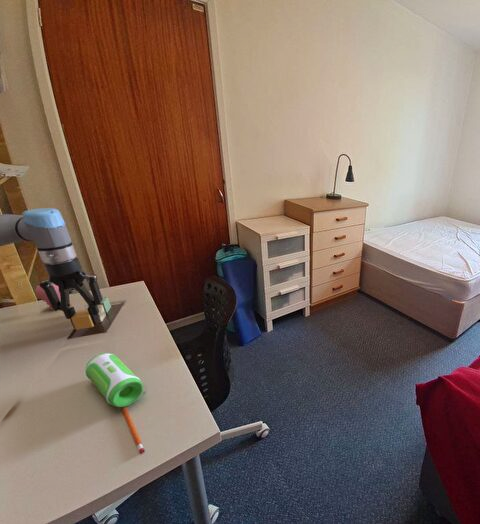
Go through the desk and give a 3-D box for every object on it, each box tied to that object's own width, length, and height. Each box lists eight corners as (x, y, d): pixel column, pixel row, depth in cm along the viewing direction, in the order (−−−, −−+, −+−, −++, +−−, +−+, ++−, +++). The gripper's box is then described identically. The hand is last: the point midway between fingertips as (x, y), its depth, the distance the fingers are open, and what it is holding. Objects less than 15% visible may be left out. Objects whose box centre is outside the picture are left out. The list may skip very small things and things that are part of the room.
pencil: (140, 454, 59) (139, 452, 59) (118, 402, 70) (117, 400, 70) (145, 451, 60) (144, 449, 59) (123, 400, 71) (121, 398, 71)
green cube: (91, 315, 102) (87, 304, 101) (96, 309, 106) (92, 298, 104) (107, 313, 104) (103, 302, 102) (111, 306, 108) (107, 296, 106)
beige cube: (90, 317, 101) (86, 306, 99) (106, 315, 103) (102, 304, 101) (85, 324, 97) (81, 313, 95) (101, 321, 99) (97, 311, 97)
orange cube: (81, 322, 95) (77, 311, 93) (98, 319, 97) (93, 308, 95) (75, 330, 91) (70, 318, 90) (93, 327, 93) (88, 315, 91)
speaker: (88, 382, 76) (78, 361, 73) (120, 366, 81) (112, 345, 78) (114, 416, 67) (105, 393, 64) (148, 395, 72) (141, 373, 69)
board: (61, 342, 90) (59, 340, 89) (87, 310, 107) (86, 308, 106) (107, 334, 94) (106, 332, 94) (125, 305, 111) (124, 303, 111)
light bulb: (43, 310, 106) (30, 282, 101) (69, 303, 111) (58, 276, 106) (45, 317, 102) (32, 288, 97) (72, 309, 107) (60, 281, 102)
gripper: (14, 268, 79) (46, 336, 88) (92, 261, 85) (115, 325, 94) (29, 259, 85) (58, 323, 94) (101, 252, 91) (122, 313, 100)
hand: (86, 324), depth 94 cm, fingers closed on orange cube, 4 cm apart
